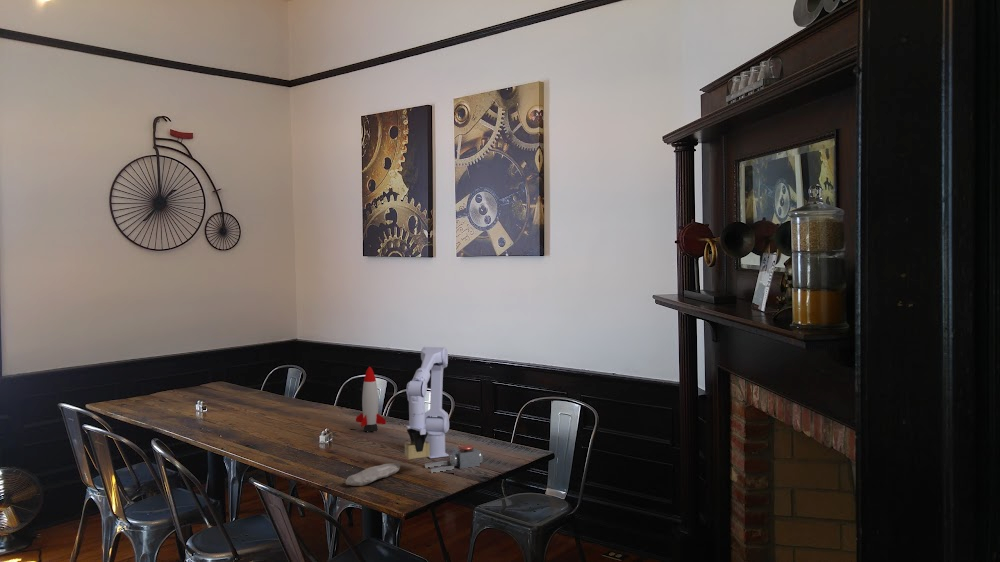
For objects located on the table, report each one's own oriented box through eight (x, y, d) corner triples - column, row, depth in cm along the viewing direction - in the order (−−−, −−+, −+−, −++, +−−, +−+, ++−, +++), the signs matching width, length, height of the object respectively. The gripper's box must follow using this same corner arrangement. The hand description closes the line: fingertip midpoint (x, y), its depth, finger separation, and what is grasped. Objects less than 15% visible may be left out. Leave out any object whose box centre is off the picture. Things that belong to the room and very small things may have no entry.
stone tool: (337, 472, 245) (389, 455, 264) (338, 486, 245) (390, 468, 265) (359, 478, 238) (411, 460, 257) (359, 492, 238) (411, 473, 258)
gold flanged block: (404, 455, 258) (404, 442, 258) (425, 453, 261) (425, 440, 261) (408, 459, 253) (408, 445, 253) (429, 456, 257) (429, 443, 257)
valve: (424, 467, 265) (424, 448, 265) (476, 460, 274) (476, 441, 273) (431, 473, 257) (431, 453, 257) (484, 465, 266) (484, 446, 266)
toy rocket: (354, 430, 326) (361, 366, 331) (378, 432, 330) (384, 368, 336) (360, 432, 315) (367, 366, 321) (384, 433, 320) (390, 368, 325)
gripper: (401, 410, 262) (401, 446, 262) (412, 418, 249) (412, 456, 249) (419, 408, 265) (419, 444, 265) (430, 416, 252) (431, 453, 252)
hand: (417, 449), depth 257 cm, fingers closed on gold flanged block, 4 cm apart
